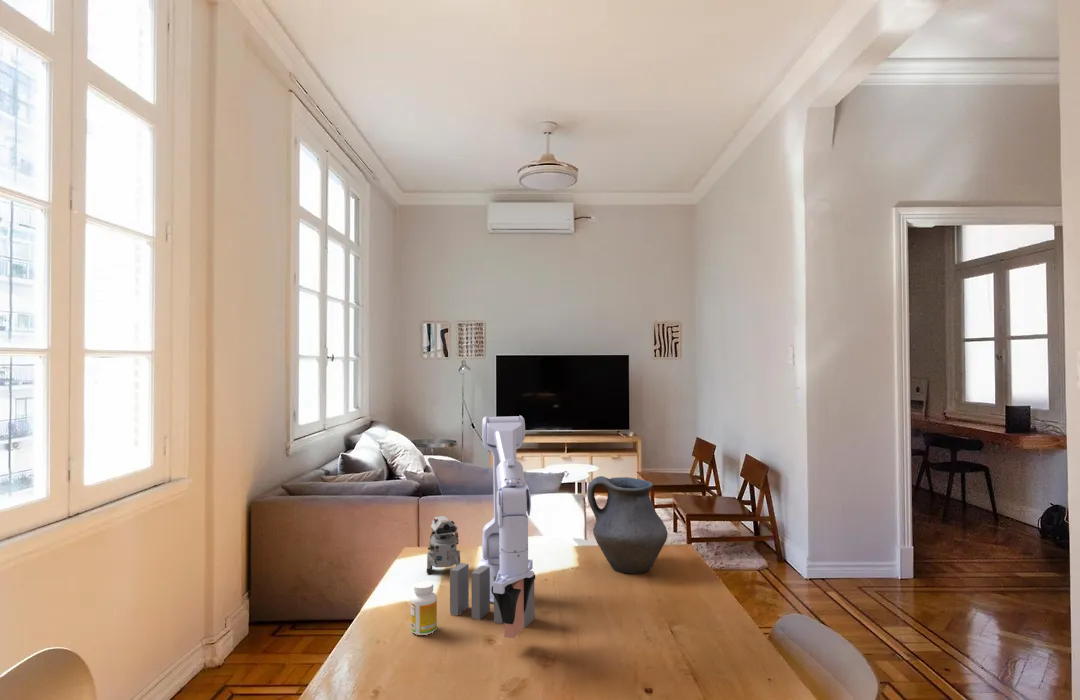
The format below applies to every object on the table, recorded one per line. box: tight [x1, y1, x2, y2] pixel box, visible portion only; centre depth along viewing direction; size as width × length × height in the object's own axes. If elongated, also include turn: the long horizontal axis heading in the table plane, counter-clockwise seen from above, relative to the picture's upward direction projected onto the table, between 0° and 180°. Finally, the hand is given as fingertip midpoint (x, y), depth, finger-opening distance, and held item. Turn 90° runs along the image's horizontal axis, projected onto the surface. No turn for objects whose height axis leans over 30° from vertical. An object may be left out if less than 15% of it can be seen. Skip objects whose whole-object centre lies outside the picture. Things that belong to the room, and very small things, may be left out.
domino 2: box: [470, 566, 491, 620], centre depth 133 cm, size 2×5×10 cm, turn 158°
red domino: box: [503, 579, 524, 639], centre depth 117 cm, size 2×5×10 cm, turn 158°
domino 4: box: [523, 581, 536, 629], centre depth 129 cm, size 2×5×10 cm, turn 158°
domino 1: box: [449, 562, 470, 616], centre depth 135 cm, size 2×5×10 cm, turn 158°
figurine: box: [426, 515, 461, 574], centre depth 159 cm, size 9×12×15 cm
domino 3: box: [493, 573, 504, 625], centre depth 131 cm, size 2×5×10 cm, turn 158°
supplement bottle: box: [410, 580, 438, 635], centre depth 125 cm, size 5×5×10 cm
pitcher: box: [586, 475, 669, 574], centre depth 163 cm, size 21×22×25 cm
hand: (514, 617), depth 117 cm, fingers closed on red domino, 5 cm apart
